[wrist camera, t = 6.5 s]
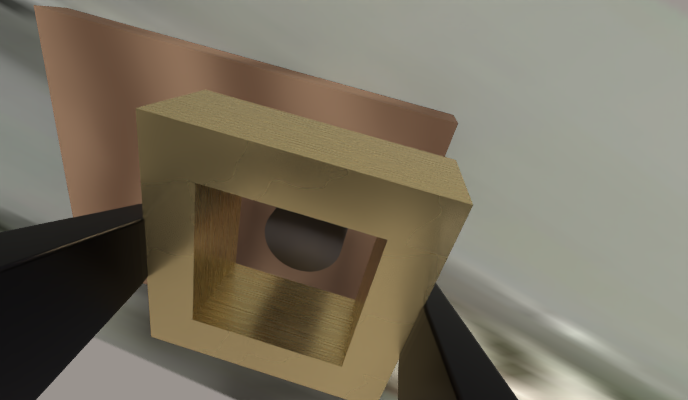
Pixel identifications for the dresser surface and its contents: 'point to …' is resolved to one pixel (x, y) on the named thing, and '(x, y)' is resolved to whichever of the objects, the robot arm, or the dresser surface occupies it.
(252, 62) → the keeper board
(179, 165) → the wooden square frame
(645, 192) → the dresser surface
